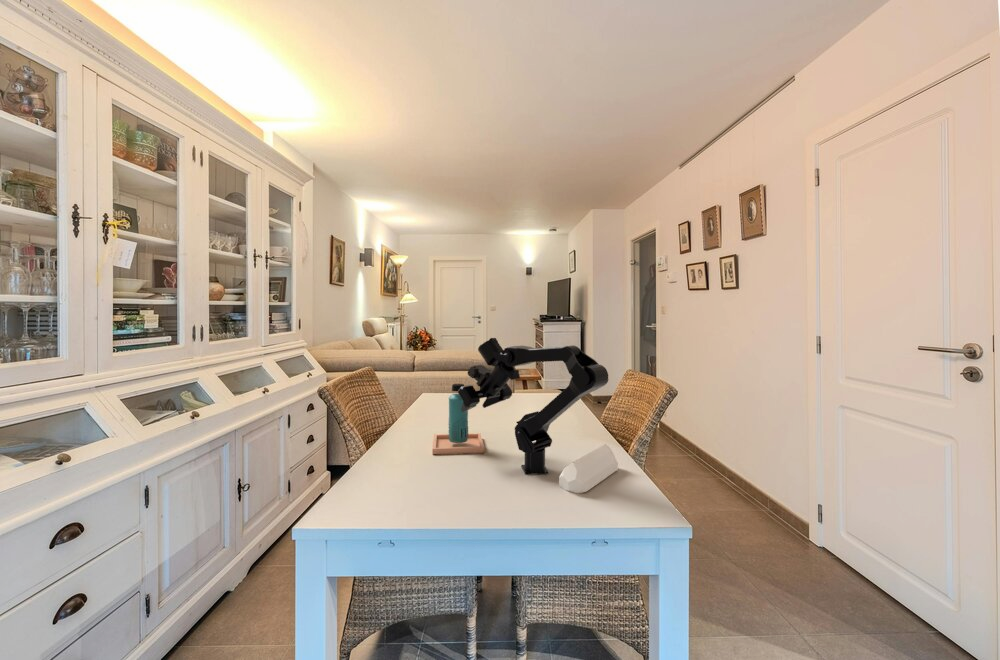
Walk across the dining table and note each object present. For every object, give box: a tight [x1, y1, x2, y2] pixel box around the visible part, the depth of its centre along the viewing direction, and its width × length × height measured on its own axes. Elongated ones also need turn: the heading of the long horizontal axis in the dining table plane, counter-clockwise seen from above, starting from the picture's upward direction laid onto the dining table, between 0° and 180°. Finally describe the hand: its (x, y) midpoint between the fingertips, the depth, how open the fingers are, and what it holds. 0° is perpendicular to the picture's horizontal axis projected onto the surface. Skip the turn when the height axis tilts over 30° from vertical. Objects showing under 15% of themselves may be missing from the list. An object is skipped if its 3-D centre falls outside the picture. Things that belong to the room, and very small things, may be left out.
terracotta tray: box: [432, 432, 485, 455], centre depth 144 cm, size 16×16×2 cm
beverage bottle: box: [447, 383, 469, 443], centre depth 143 cm, size 6×7×20 cm
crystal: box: [558, 443, 619, 494], centre depth 117 cm, size 7×7×24 cm
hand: (473, 408), depth 139 cm, fingers open, 9 cm apart
